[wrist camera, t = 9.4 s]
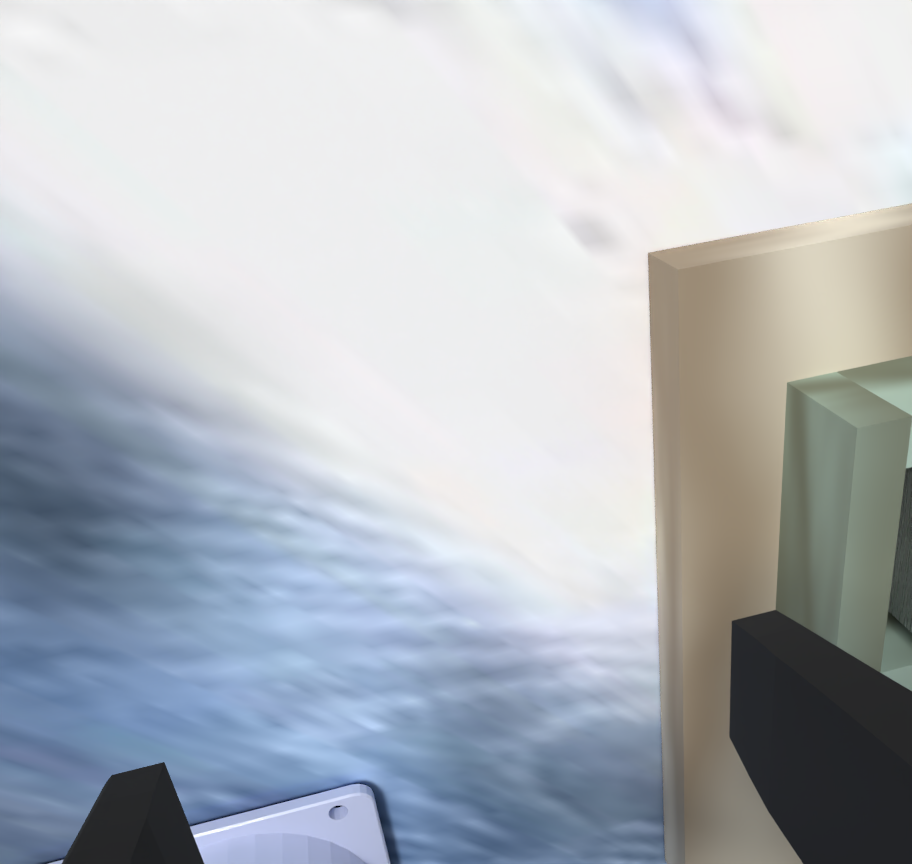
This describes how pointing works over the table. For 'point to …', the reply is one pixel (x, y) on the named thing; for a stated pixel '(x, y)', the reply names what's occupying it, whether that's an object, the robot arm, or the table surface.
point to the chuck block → (772, 483)
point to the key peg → (903, 560)
